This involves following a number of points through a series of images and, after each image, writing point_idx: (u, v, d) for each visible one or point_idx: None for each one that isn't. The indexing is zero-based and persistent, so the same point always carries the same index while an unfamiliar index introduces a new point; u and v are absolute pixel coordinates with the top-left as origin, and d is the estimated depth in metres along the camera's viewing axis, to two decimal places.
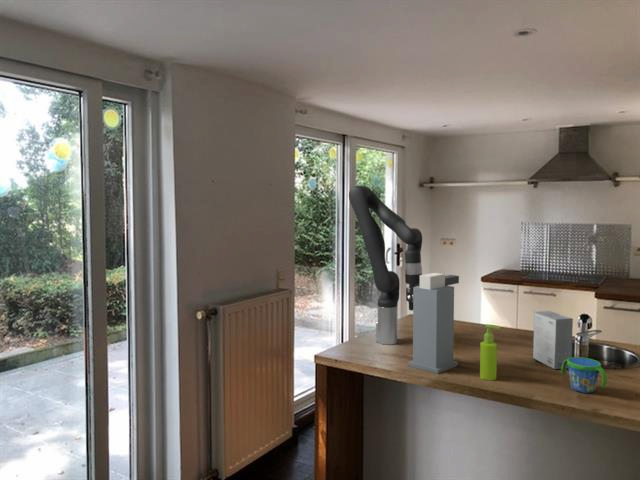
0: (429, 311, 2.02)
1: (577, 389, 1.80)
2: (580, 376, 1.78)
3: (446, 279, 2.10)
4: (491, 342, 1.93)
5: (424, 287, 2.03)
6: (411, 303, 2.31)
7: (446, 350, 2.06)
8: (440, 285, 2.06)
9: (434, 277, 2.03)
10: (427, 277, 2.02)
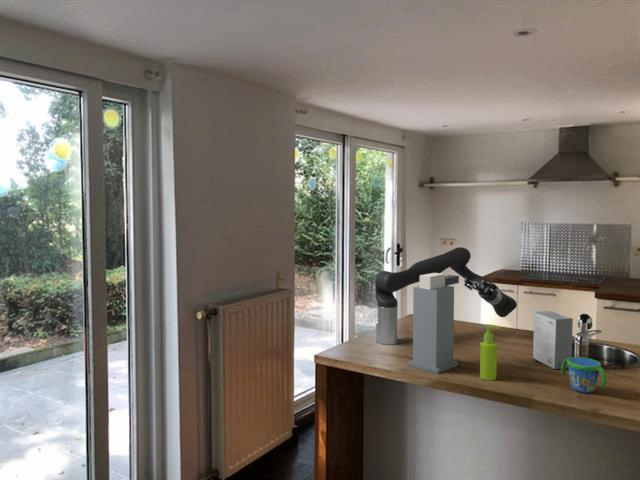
0: (429, 311, 2.02)
1: (577, 389, 1.80)
2: (580, 376, 1.78)
3: (446, 279, 2.10)
4: (491, 342, 1.93)
5: (424, 287, 2.03)
6: (487, 285, 2.26)
7: (446, 350, 2.06)
8: (440, 285, 2.06)
9: (434, 277, 2.03)
10: (427, 277, 2.02)
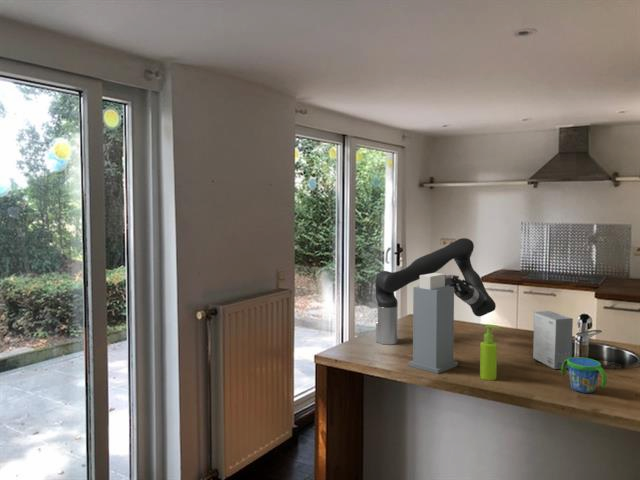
0: (429, 311, 2.02)
1: (577, 389, 1.80)
2: (580, 376, 1.78)
3: (446, 279, 2.10)
4: (491, 342, 1.93)
5: (424, 287, 2.03)
6: (457, 281, 2.13)
7: (446, 350, 2.06)
8: (440, 285, 2.06)
9: (434, 277, 2.03)
10: (427, 277, 2.02)
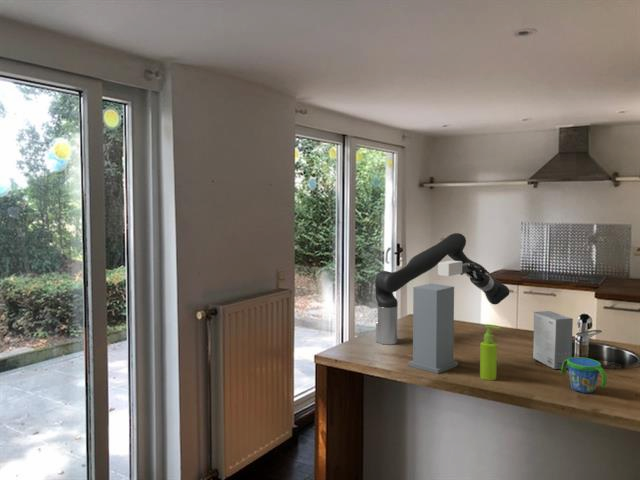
0: (429, 311, 2.02)
1: (577, 389, 1.80)
2: (580, 376, 1.78)
3: (463, 266, 2.18)
4: (491, 342, 1.93)
5: (442, 274, 2.12)
6: (474, 269, 2.21)
7: (446, 350, 2.06)
8: (458, 272, 2.14)
9: (452, 264, 2.11)
10: (445, 264, 2.10)
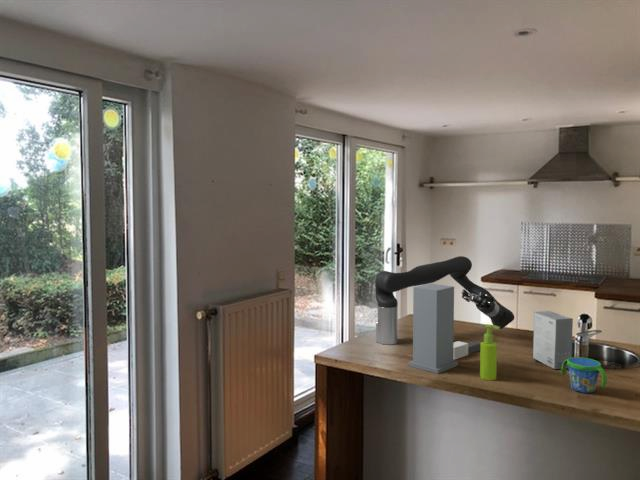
0: (429, 311, 2.02)
1: (577, 389, 1.80)
2: (580, 376, 1.78)
3: (469, 347, 2.25)
4: (491, 342, 1.93)
5: None
6: (485, 298, 2.25)
7: (446, 350, 2.06)
8: (464, 354, 2.22)
9: (458, 348, 2.19)
10: None
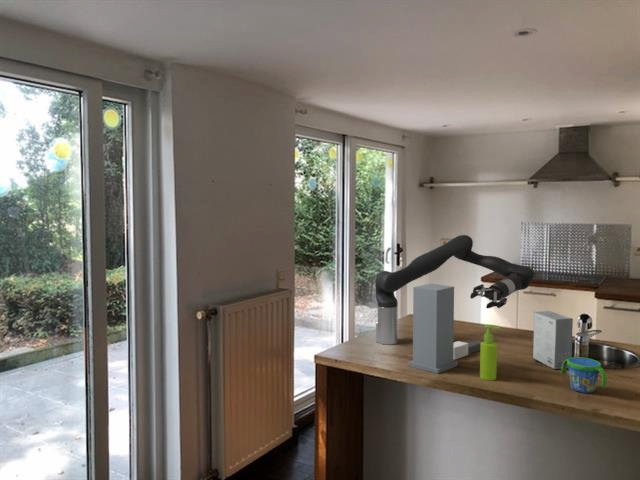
0: (429, 311, 2.02)
1: (577, 389, 1.80)
2: (579, 376, 1.78)
3: (469, 347, 2.25)
4: (491, 342, 1.93)
5: None
6: (493, 305, 2.23)
7: (446, 350, 2.06)
8: (464, 354, 2.22)
9: (458, 348, 2.19)
10: None
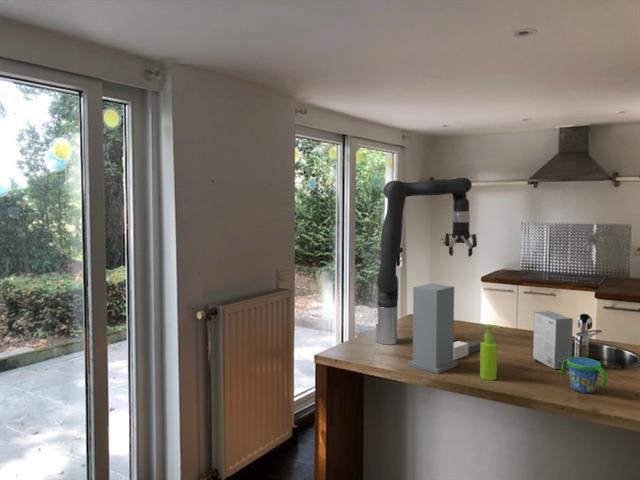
0: (429, 311, 2.02)
1: (577, 389, 1.80)
2: (580, 376, 1.78)
3: (469, 347, 2.25)
4: (491, 342, 1.93)
5: None
6: (472, 249, 2.41)
7: (446, 350, 2.06)
8: (464, 354, 2.22)
9: (458, 348, 2.19)
10: None
